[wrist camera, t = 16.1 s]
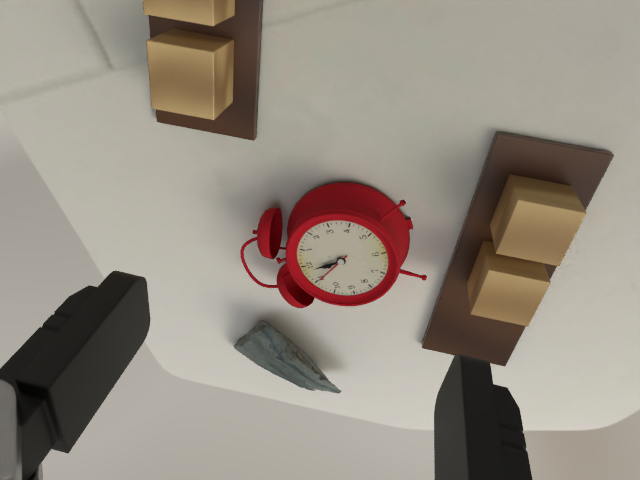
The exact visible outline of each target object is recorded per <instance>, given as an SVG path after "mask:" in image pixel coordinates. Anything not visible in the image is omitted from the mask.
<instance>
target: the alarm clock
mask: <svg viewBox="0 0 640 480" xmlns="http://www.w3.org/2000/svg"><path fill="white" fill-rule="evenodd" d="M405 204H406V202H405V201H404V200H401V201H400V203H399V204H398V205H397V206H396V204H395V203H394V202H392V201H391V200H390V199H389V198H388V197H386V196H385V195H384V194H382V193H380V192H379V191H377V190H375V189H373V188H370V187H368V186H364V185H360V184H356V183H344V182H341V183H332V184H327V185H323V186H321V187H318V188H316V189H314V190H312V191H310V192H309V193H307V194H306V195H305V196H304V197H302V198H301V199H300V201H299V202H298V203H297V204H296V206H295V207H294V209H293V211H292V213H291V215H290V218H289V221H288V227H287V237H288V240H287V243H286V247H280V245H281V239H282V228H283V225H282V213H281V210H280V208H270V209H268V210H266V211H265V212H264V213H263V214H262V216H261V218H260V221H259V224H258V230H253V234H257V237H255V238H252V239H250V240H249V241H247V242H246V243H244V245H243V246H242V248H241V259H242V263H243V265H244V267H245V269H246V271H247V272H248V274H249V276H250V277H251V278H252V279H253V280H254V281H255V282H256V283H257V284H259V285H261V286H263V287H267V288H278V289H279V291H280V293H281V295H282V296H283V298H284V299H285V300H286V301H287V302H288V303H289V304H290V305H292V306H294V307H297V308H304V307H307V306H309V305H310V304H312V303H313V300H314V298H317V299H319V300H321V301H323V302H326V303H329V304H334V305H339V306H358V305H363V304H367V303H370V302H372V301H375V300H376V299H378V298H380V297H381V296H383V295H384V294H385V293H386V292H387V291H388V290H389V289H390V288H391V287H392V285H393V284H394V282H395V281H396V279H397V277H398V275H399V273H402V274H406V275H410V276H415V277H419V278H422V280H426V278H427V276H426V275H423V276H421V275H418V274H414V273H412V272H409V271H405V270H401V269H400V267H401V266H402V264H403V263H404V261H405V259H406V257H407V254H408V250H409V242H410V235H409V229H413V225H412V222H411V219H408V220H406V219H405V217H404V215H403V214H402V212H401V211H400V209H399V207H400V206H401V205H402V206H404V205H405ZM255 240H257V244H258V248H259V251H260V253H261V254H262V256H264V257H266V258H269V259H274V258H275V257H276V256H277V254H278V251H279V249H284V250H286V258H284V259H280V258H279V257H278V258H276V260H277V262H278V264H280V263H281V261H285V260H286V262H287V263H286V264H284V265H283V266H282V267H281V268H280V270H279V272H278V274H277V285H266V284H263V283H261V282H259V281H258V280H257V279H256V278H255V277H254V276H253V275H252V273H251V272H250V270H249V269H248V267H247V265H246V262H245V259H244V253H243V251H244V248H245V247H246V246H247V245H248V244H249V243H251V242H253V241H255Z"/></svg>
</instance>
